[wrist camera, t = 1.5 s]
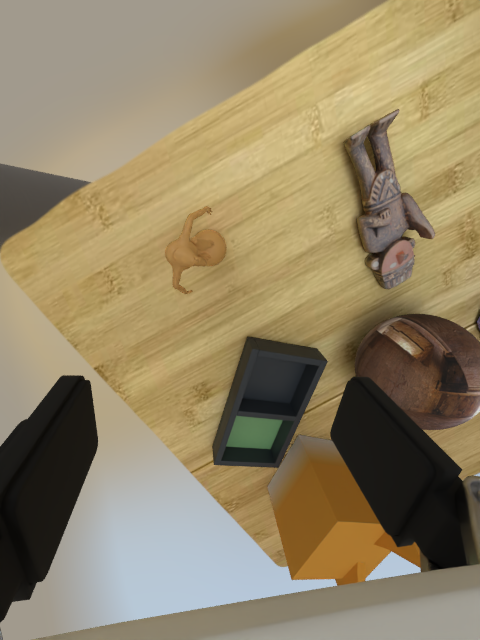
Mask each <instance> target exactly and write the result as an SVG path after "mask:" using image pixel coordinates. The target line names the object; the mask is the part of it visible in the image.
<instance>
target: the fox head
mask: <svg viewBox="0 0 480 640" xmlns="http://www.w3.org/2000/svg"><path fill="white" fill-rule="evenodd" d="M267 487H268V491H269V495H270V499H271V502H272V506H273V510H274V514H275V518H276V522H277V525H278V529H279V533H280V537H281V541H282V545H283V548H284V552H285V556H286V560H287V564H288V568H289V571H290V575H291V579H292V580H305V579H306V580H307V579H335V580H336V583H337V585H338V586H339V585H345V584H352V583H358V582H364V581H365V578H366V577H367V576H368V575H369V574H370V573H371V572H372V571H373V570H374V569H375V568H376V567H377V566H378V564H380V563H381V561H382V560H383V559H384V558H385V557H386V556H387V555H388V554H389V553H390V552H391V551H392V552H394V553H396V554H397V555H399V556H401V557H402V558H404V559H406V560H408V561H409V562H411V563H413V564H415V565H416V566H418V567H420V568H421V566H420V549H419V547H418V546H417V544H416V543H415V542H414V543H413V545H410V546H403V547H397V546H396V544H395V542H394V541H393V539H392V537H391V536H390V535H388V534H387V533H386V532H385V531H384V529H383V528H382V526H381V524H380V523H379V521H378V519H377V517H376V516H375V514H374V512H373V510H372V509H371V507H370V505H369V503H368V502H367V500H366V498H365V497H364V495H363V493H362V491H361V490H360V488H359V486H358V484H357V483H356V481H355V479H354V477H353V476H352V474H351V472H350V471H349V469H348V467H347V465H346V464H345V462H344V460H343V458H342V457H341V455H340V453H339V452H338V450H337V448H336V446H335V445H334V443H333V441H332V440H326V439H321V438H315V437H309V436H303V435H298V436H297V438H296V440H295V441H294V443H293V445H292V446H291V448H290V450H289V451H288V453H287V455H286V456H285V458H284V460H283V461H282V463H281V465H280V466H279V468H278V470H277V471H276V473H275V475H274V476H273V478H272V480H271V481H270V483H269V485H268V486H267Z"/></svg>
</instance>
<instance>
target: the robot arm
mask: <svg viewBox="0 0 480 640" xmlns="http://www.w3.org/2000/svg"><path fill="white" fill-rule="evenodd" d="M330 434H331V439H332V441H333V443H334V445H335V446H336V448H337V450H338V452H339V453H340V455H341V457H342V458H343V460H344V462H345V464H346V465H347V467H348V469H349V471H350V472H351V474H352V476H353V477H354V479H355V481H356V483H357V484H358V486H359V488H360V490H361V491H362V493H363V495H364V497H365V498H366V500H367V502H368V503H369V505H370V507H371V509H372V510H373V512H374V514H375V516H376V517H377V519H378V521H379V523H380V524H381V526H382V528H383V529H384V531H385V532H386V533H387V534H388V535H390V536H391V537H392V539H393V541H394V542H395V544H396V546H397V547H403V546H410V545H413V543H414V542H415V543H416V544H417V546H418V547H419V549H420V566H421V572H420V573H414V574H408V575H402V576H396V577H389V578H383V579H376V580H370V581H364V582H358V583H352V584H345V585H339V586H333V587H327V588H321V589H316V590H309V591H303V592H298V593H291V594H285V595H279V596H273V597H268V598H261V599H255V600H249V601H243V602H237V603H232V604H226V605H220V606H215V607H209V608H202V609H197V610H191V611H185V612H180V613H173V614H168V615H162V616H156V617H150V618H144V619H138V620H133V621H127V622H121V623H116V624H111V625H105V626H100V627H95V628H90V629H85V630H80V631H74V632H69V633H64V634H59V635H54V636H49V637H44V638H38V639H33V640H480V477H479V476H473V475H472V476H467V477H466V478H465V479H464V481H462V480H461V479H460V478H459V477H458V475H459V474H460V472H461V471H462V469H461V468H460V467H459V466H458V465H457V464H456V463H455V462H454V461H453V460H452V459H451V458H450V457H449V456H448V455H447V454H446V453H445V452H444V451H443V450H442V449H441V448H440V447H439V446H438V445H437V444H436V443H435V442H434V441H433V440H432V439H431V438H430V437H429V436H428V435H427V434H426V433H425V432H424V431H423V430H422V429H421V428H420V427H419V426H418V425H417V424H416V423H415V422H414V421H413V420H412V419H411V418H410V417H409V416H408V415H407V414H406V413H405V412H404V411H403V410H402V409H401V408H400V407H399V406H398V405H397V404H396V403H395V402H394V401H393V400H392V399H391V398H390V397H389V396H388V395H387V394H386V393H385V392H384V391H383V390H382V389H381V388H380V387H379V386H378V385H377V384H376V383H375V382H374V381H373V380H372V379H371V378H369V377H352V378H351V380H350V381H348V382H347V384H346V387H345V390H344V393H343V396H342V399H341V402H340V405H339V408H338V411H337V414H336V417H335V419H334V422H333V425H332V428H331V432H330ZM97 446H98V436H97V428H96V421H95V413H94V406H93V398H92V391H91V384H90V381H89V380H85V379H84V377H83V376H61V377H60V378H59V379H58V381H57V382H56V383H55V385H54V386H53V387H52V388H51V390H50V391H49V392H48V394H47V395H46V396H45V398H44V399H43V400H42V402H41V403H40V404H39V405H38V406H37V408H36V409H35V410H34V412H33V413H32V414H31V415H30V417H29V418H28V419H26V420H24V421H22V422H20V423H19V424H18V425H17V427H16V428H15V429H14V430H13V432H12V433H11V434H10V435H9V437H8V438H7V439H6V440H5V441H4V443H3V444H2V445H1V446H0V622H1V621H2V620H4V618H5V616H6V614H7V612H8V609H9V607H10V605H11V603H12V602H15V601H21V600H29V599H30V598H31V595H32V592H33V590H34V588H35V585H36V583H37V582H41V581H43V580H44V579H45V577H46V575H47V573H48V571H49V569H50V566H51V563H52V561H53V559H54V556H55V554H56V551H57V549H58V546H59V544H60V541H61V539H62V536H63V534H64V531H65V529H66V526H67V524H68V521H69V519H70V516H71V514H72V511H73V509H74V506H75V504H76V501H77V498H78V496H79V493H80V491H81V488H82V486H83V484H84V481H85V479H86V476H87V474H88V471H89V469H90V466H91V463H92V461H93V458H94V456H95V454H96V451H97ZM0 640H3V638H2V633H1V629H0Z"/></svg>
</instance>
